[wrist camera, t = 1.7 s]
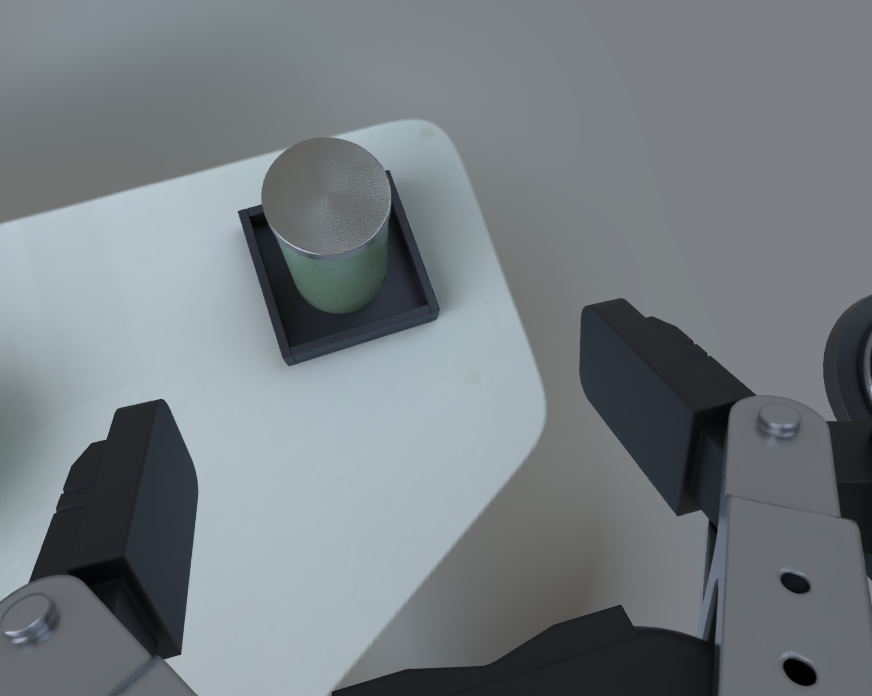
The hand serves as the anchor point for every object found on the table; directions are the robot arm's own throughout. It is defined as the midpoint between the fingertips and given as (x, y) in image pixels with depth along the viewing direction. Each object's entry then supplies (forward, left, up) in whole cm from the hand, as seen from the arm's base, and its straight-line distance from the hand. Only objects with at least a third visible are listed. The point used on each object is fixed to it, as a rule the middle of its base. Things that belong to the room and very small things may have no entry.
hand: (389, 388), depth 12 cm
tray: (+7, -8, -22) cm, 24 cm away
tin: (+7, -8, -21) cm, 24 cm away
